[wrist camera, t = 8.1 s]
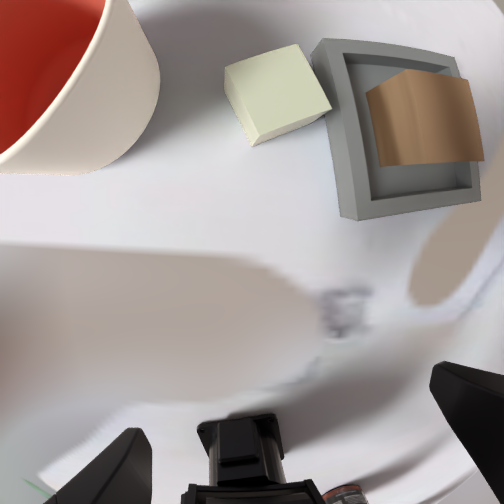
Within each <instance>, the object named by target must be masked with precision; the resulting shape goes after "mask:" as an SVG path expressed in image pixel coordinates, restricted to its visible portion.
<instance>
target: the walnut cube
mask: <svg viewBox="0 0 504 504" xmlns="http://www.w3.org/2000/svg"><path fill="white" fill-rule="evenodd" d="M365 94H366V98H367V102H368V107H369V111H370V116H371V121H372V126H373V131H374V136H375V142H376V147H377V153H378V159H379V166H380V167H386V166H398V165H412V164H427V163H444V162H467V161H484V155H483V148H482V141H481V135H480V130H479V125H478V120H477V115H476V110H475V106H474V102H473V98H472V94H471V90H470V86H469V82H468V80H466V79H462V78H457V77H453V76H448V75H442V74H437V73H431V72H425V71H418V70H411V69H406V70H404V71H402V72H401V73H399V74H397V75H395V76H393V77H392V78H390V79H388V80H386V81H385V82H383V83H381V84H379V85H378V86H376V87H374V88H372V89H371V90H369V91H367V92H366V93H365Z"/></svg>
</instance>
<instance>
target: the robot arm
mask: <svg viewBox="0 0 504 504" xmlns="http://www.w3.org/2000/svg"><path fill="white" fill-rule="evenodd" d="M429 387H430V391H431V393H432V395H433V397H434V398H435V400H436V402H437V404H438V406H439V407H440V409H441V411H442V413H443V415H444V417H445V419H446V420H447V422H448V424H449V425H450V427H451V428H452V430H453V431H454V433H455V434H456V436H457V437H458V439H459V440H460V441H461V443H462V444H463V446H464V447H465V449H466V450H467V452H468V453H469V455H470V456H471V458H472V459H473V461H474V462H475V464H476V465H477V467H478V469H479V470H480V472H481V473H482V475H483V476H484V478H485V479H486V481H487V483H488V484H489V486H490V487H491V489H492V490H493V492H494V494H495V496H496V497H497V499H498V500H499V502H500V504H504V375H501V374H496V373H492V372H488V371H483V370H479V369H475V368H471V367H467V366H463V365H459V364H455V363H451V362H447V361H442V362H440V363H438V364H436V365H434V367H433V369H432V374H431V379H430V384H429ZM269 419H271V420H269ZM201 429H204V430H201ZM197 433H198V435H199V438H200V440H201V442H202V444H203V446H204V449H205V451H206V453H207V455H208V457H209V486H205V485H197V484H189V487H188V492H185V494H182V495H181V504H326V503H325V501H324V499H323V498H322V496H321V494H320V493H319V491H318V489H317V488H316V486H315V484H314V482H313V481H312V479H307V480H304V481H300V482H291V483H286V479H285V475H284V471H283V467H282V463H281V460H283V459H284V454H283V448H282V443H281V437H280V432H279V426H278V421H277V417H276V415H275V414H272V413H270V414H265V415H259V416H254V417H248V418H242V419H236V420H229V421H222V422H215V423H206V424H200V425H198V426H197ZM151 498H152V448H151V445H150V443H149V441H148V439H147V437H146V436H145V434H144V432H143V430H142V429H141V428H127V429H126V430H125V431H124V432H122V433H121V434H120V435H119V436H118V437H117V438H116V439H115V440H114V441H113V442H112V443H111V444H110V445H109V446H108V447H106V448H105V449H104V450H103V451H102V452H101V453H100V454H99V455H98V456H97V457H96V458H95V459H93V460H92V461H91V462H90V463H89V464H88V465H87V466H86V467H85V468H84V469H82V470H81V471H80V472H79V473H78V474H77V475H76V476H75V477H74V478H72V479H71V480H70V481H69V482H68V483H67V484H66V485H64V486H63V487H62V488H61V489H60V490H59V491H58V492H56V494H54V495H53V496H52V497H51V498H49V499H48V500H47V501H46V502H45V503H43V504H151Z"/></svg>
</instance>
